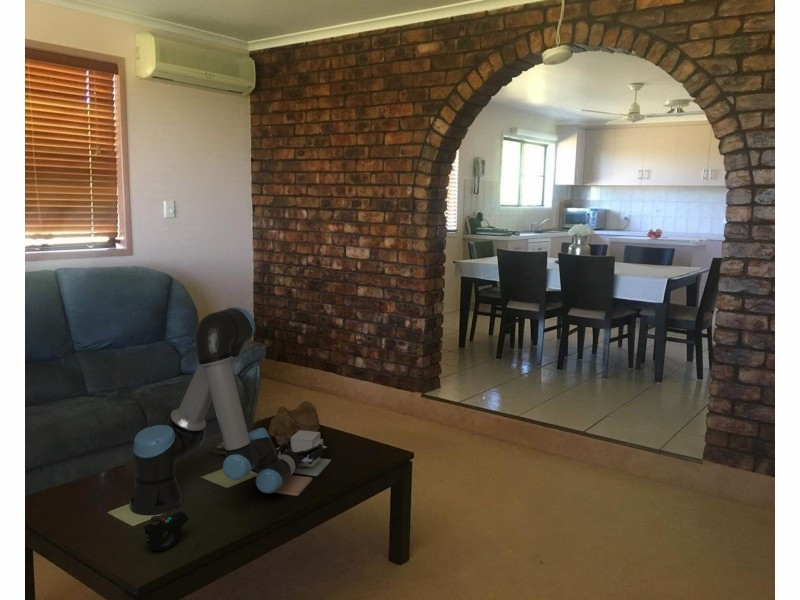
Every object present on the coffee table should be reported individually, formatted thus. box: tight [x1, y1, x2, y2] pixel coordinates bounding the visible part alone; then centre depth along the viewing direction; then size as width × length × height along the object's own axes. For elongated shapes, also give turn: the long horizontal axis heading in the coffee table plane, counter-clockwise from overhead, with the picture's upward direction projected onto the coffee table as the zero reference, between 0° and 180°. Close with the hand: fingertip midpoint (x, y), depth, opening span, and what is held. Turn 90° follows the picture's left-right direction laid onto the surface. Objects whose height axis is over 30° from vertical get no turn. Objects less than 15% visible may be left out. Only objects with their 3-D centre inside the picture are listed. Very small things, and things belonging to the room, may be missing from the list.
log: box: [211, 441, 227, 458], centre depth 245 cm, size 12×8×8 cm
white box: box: [291, 430, 321, 467], centre depth 232 cm, size 8×8×10 cm
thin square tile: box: [271, 474, 313, 497], centre depth 217 cm, size 13×13×1 cm
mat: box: [293, 457, 332, 477], centre depth 233 cm, size 14×14×1 cm
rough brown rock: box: [268, 400, 321, 447], centre depth 255 cm, size 23×17×15 cm
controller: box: [143, 511, 189, 552], centre depth 175 cm, size 4×12×10 cm, turn 146°
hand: (310, 441), depth 237 cm, fingers closed on white box, 8 cm apart
